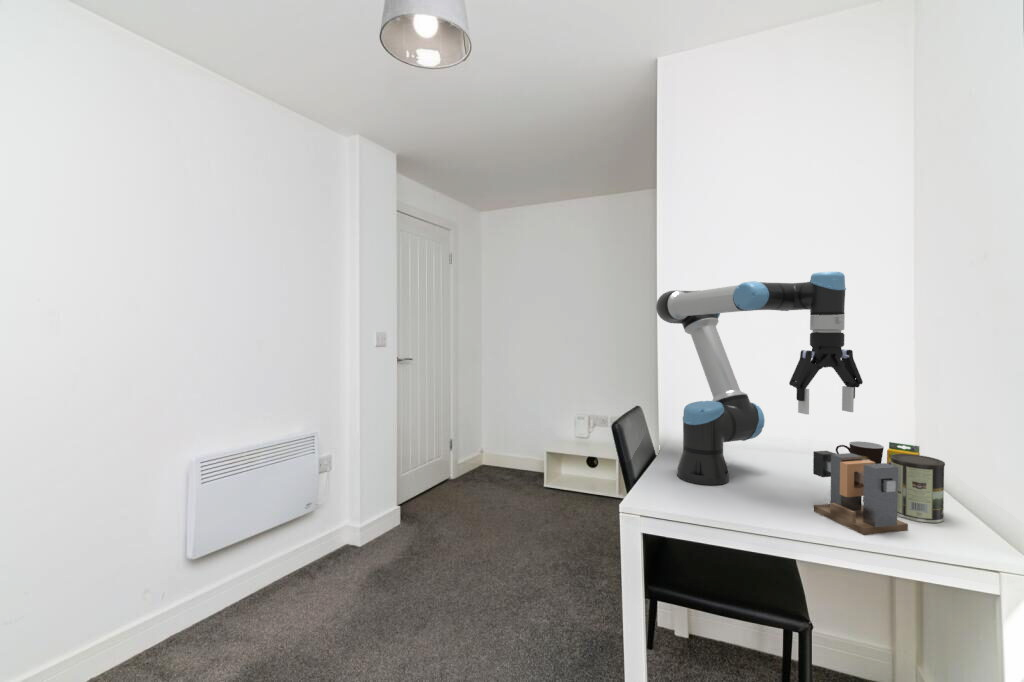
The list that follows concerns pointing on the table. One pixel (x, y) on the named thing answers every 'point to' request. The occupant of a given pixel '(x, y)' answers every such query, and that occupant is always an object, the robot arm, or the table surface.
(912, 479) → the coffee can
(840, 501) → the bearing blocks
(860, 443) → the coffee mug
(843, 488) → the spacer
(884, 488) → the shaft
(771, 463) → the table surface
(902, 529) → the tray
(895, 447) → the crayon box
